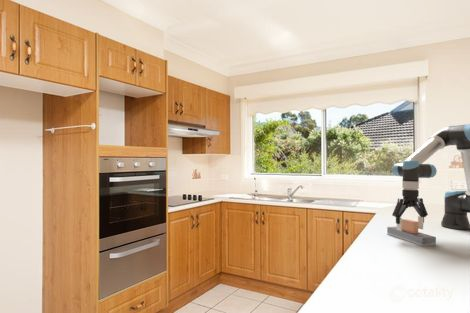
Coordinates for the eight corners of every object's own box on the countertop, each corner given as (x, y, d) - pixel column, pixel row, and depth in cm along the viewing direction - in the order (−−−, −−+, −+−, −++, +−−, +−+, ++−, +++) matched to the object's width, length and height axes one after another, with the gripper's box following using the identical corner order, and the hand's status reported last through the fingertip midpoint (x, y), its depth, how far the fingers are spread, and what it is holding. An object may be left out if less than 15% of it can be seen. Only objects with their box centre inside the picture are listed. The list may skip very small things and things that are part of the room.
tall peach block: (405, 235, 167) (406, 218, 167) (418, 239, 159) (418, 221, 159) (401, 235, 166) (401, 219, 166) (413, 239, 158) (413, 222, 158)
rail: (399, 233, 175) (399, 226, 175) (435, 245, 152) (435, 237, 152) (387, 234, 173) (387, 226, 173) (422, 246, 150) (422, 237, 150)
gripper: (424, 188, 169) (423, 226, 169) (385, 188, 163) (384, 228, 163) (435, 189, 162) (435, 230, 162) (395, 190, 156) (395, 232, 156)
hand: (410, 229), depth 163 cm, fingers open, 13 cm apart
